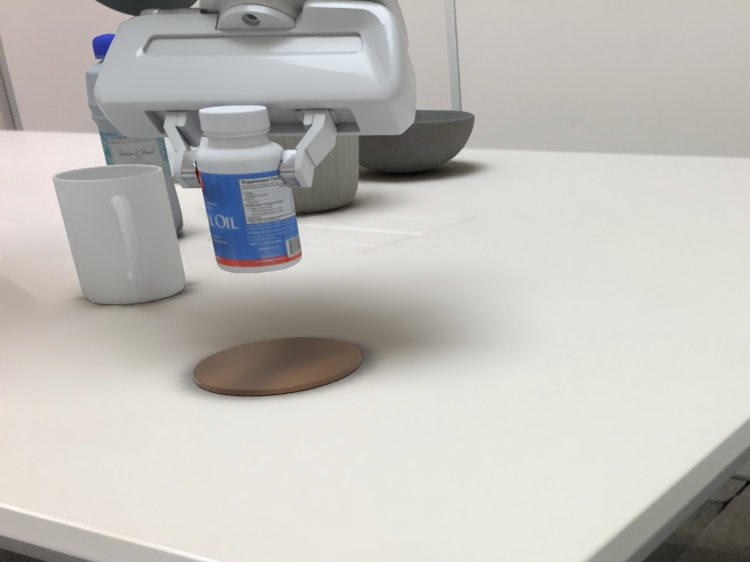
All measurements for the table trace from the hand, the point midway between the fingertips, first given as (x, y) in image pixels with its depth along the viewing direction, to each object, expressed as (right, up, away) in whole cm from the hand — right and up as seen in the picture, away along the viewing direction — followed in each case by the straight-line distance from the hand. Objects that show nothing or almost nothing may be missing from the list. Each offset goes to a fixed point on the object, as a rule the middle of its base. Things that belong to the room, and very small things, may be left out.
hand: (242, 182), depth 64 cm
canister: (-16, +14, +59) cm, 63 cm away
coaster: (0, -11, +6) cm, 12 cm away
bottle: (-27, +7, +44) cm, 52 cm away
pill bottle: (0, -5, +3) cm, 6 cm away
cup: (-18, -3, +23) cm, 29 cm away
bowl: (-9, +26, +82) cm, 87 cm away
